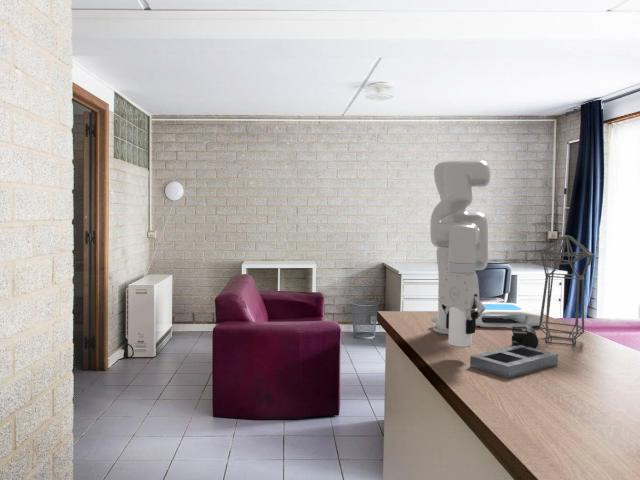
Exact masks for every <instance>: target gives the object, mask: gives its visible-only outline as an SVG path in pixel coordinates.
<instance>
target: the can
mask: <svg viewBox="0 0 640 480" xmlns="http://www.w3.org/2000/svg"><path fill="white" fill-rule="evenodd" d="M471 314H472V311H471ZM466 320H468V317H467V314H466V311H465V310H460V309H458V308H456V307H450V308H449V335H448V344H449V345H450V346H451V347H455V348H461V349H462V348H463V349H464V348H470V347H471V346H472V344H473V333H472V334H466Z"/></svg>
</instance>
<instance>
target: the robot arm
mask: <svg viewBox="0 0 640 480" xmlns="http://www.w3.org/2000/svg"><path fill="white" fill-rule="evenodd" d="M433 175H434V176H433V179H434V183H435V187H436V190H437V192H438V194H439V197H440V198H439V199H440V201H439V202H438V203H437V204H436V205H435V207H434V208H433V210H432V212H431V216H430V221H429V222H430V223H429V224H430V225H429V226H430V228H429V229H430V232H429V233H430V241H431V244H432V245H433V246H434V247H436V248H437V249H436V253H435V254H436V261H437V269H438V270H437V271H438V273H437V274H438V286H437V287H438V288H437V289H438V290H437V291H438V294H437V295H438V296H437V298H438V301H437V303H438V304H437V315H434V316H433V317H432V318H431V319H430V322H432V323H435V325H434V326H433V332H435V333H437V334H443V335H448V336H449V308H450V307H456V308H458V309H460V310H465V311H466V314H467V317H468V320H466V334H472V335H473V334H475V333H476V327H477V326H476V319H478V317H479V316H480V315H481V313H482V312H483V311H484V310H485V307H484V306H483V304H482V303H481V302H482V301H481V300H480V285H479V277H478V273H476V271H481V270H482V271H483V270H485V269H486V268H487V266H488V264H489V226H488V225H489V224H488V219H487V217H486V215H485V214H484V213H482V212H477V211H466V209H467V208H469V206H471V204H472V202H473V190H472V187H473V188H474V187H475V188H477V187H479V188H481V187H482V188H483V187H484V188H485V187H487V186H488V185H489V183H490V179H491V168H490V165H489V164H488V163H487V161H485V160H449V161H442V162H438V163H437V164H436V165H435V166H434V169H433ZM475 309H477V310H475ZM471 311H472V314H471Z"/></svg>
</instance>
